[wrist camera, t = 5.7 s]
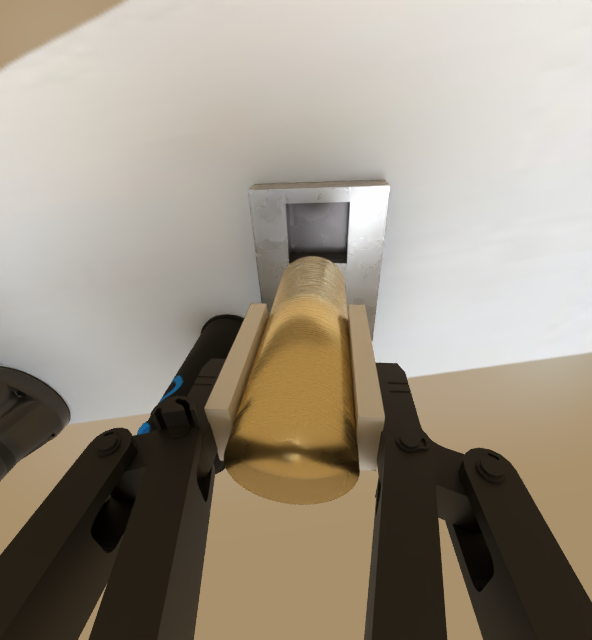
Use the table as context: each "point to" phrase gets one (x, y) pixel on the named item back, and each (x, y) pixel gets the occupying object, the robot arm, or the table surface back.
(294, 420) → the brass rod
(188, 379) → the aerosol can
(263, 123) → the table surface
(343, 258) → the jig
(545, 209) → the table surface
